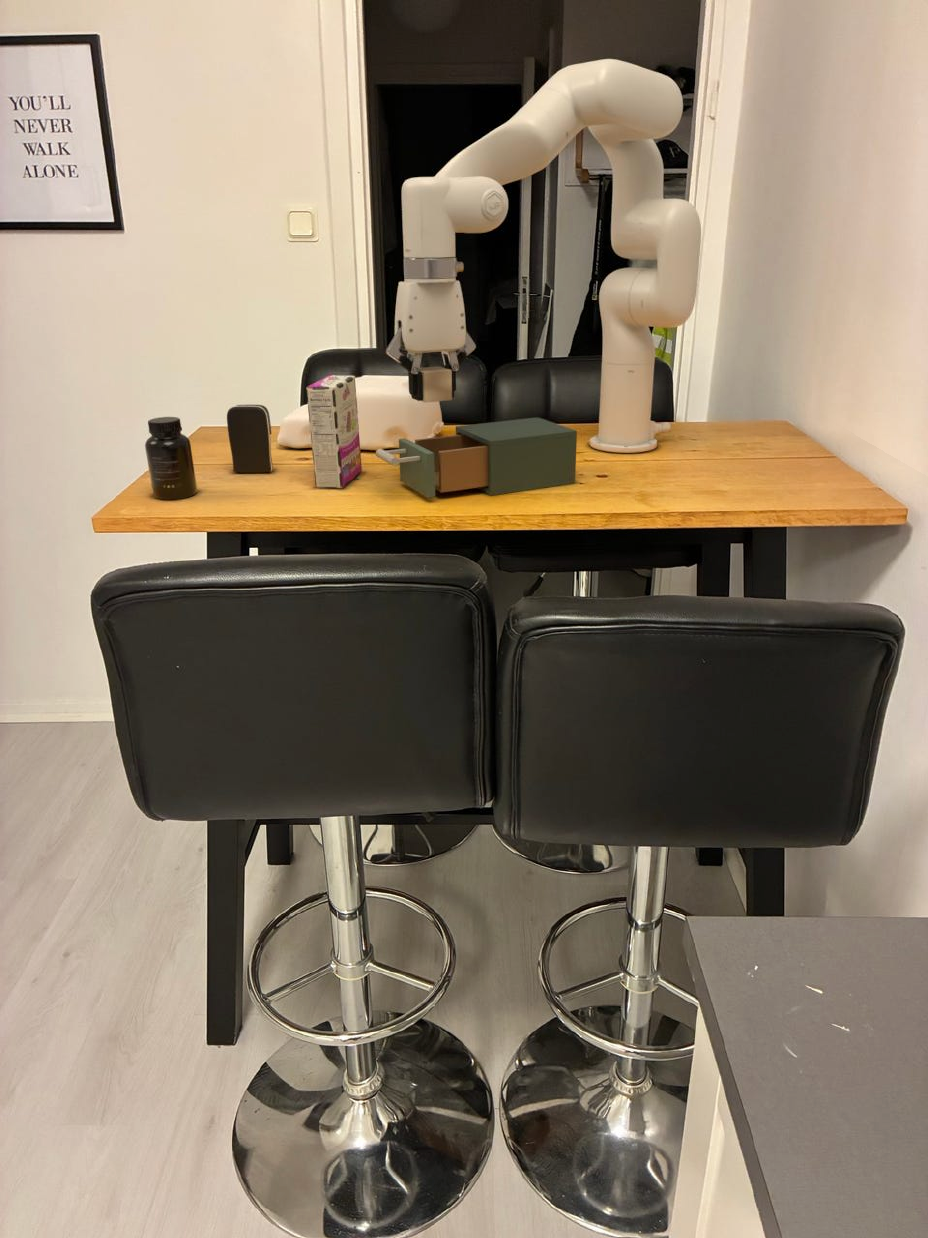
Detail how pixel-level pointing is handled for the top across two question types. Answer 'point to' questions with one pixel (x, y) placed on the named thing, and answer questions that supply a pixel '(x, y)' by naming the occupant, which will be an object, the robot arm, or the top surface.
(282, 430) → the white rounded body
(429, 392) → the cream box
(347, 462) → the candy bar box
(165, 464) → the supplement bottle
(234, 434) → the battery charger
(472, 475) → the drawer
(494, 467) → the cabinet
